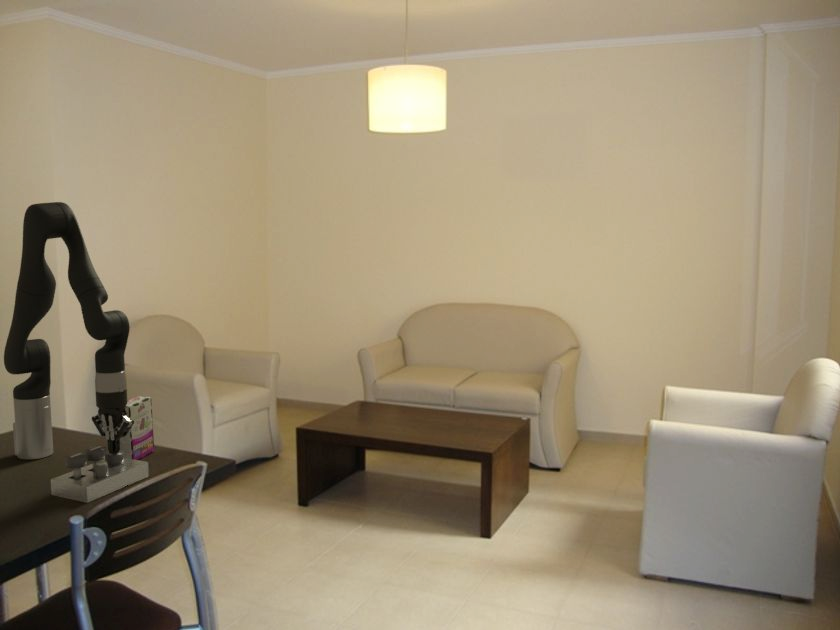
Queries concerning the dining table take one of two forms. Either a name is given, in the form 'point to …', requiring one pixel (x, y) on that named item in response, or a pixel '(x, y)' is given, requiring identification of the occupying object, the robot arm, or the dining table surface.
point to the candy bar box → (138, 429)
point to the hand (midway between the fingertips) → (114, 452)
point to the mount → (99, 481)
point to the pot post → (101, 469)
